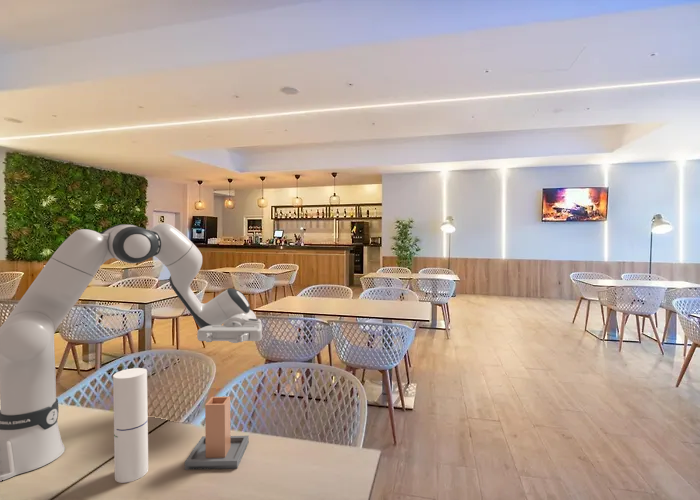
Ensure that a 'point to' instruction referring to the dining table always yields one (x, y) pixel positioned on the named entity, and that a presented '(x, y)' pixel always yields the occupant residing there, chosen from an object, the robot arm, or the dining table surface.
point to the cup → (217, 427)
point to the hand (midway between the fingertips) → (223, 339)
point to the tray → (229, 462)
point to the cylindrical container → (130, 424)
